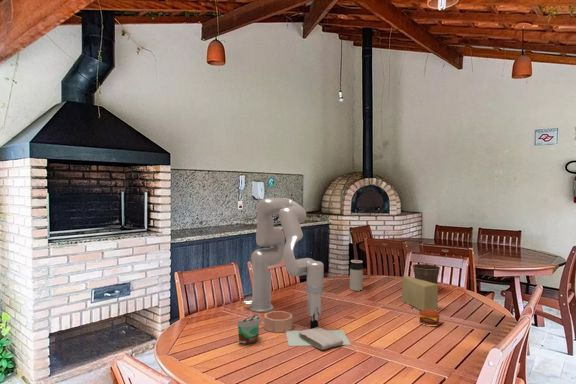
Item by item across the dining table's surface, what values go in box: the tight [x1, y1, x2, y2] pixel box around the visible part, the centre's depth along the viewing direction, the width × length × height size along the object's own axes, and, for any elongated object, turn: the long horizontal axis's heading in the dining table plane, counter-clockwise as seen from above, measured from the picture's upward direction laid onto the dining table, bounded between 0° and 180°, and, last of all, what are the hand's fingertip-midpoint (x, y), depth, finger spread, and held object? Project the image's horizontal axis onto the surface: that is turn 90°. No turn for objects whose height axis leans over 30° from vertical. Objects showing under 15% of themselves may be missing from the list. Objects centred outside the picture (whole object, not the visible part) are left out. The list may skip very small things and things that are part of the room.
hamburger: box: [417, 309, 441, 325], centre depth 193 cm, size 9×10×7 cm
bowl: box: [263, 310, 293, 334], centre depth 184 cm, size 13×13×6 cm
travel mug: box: [349, 259, 364, 292], centre depth 250 cm, size 8×8×18 cm
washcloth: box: [298, 326, 344, 351], centre depth 169 cm, size 12×18×3 cm, turn 34°
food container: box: [236, 313, 262, 346], centre depth 167 cm, size 12×6×10 cm, turn 148°
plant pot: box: [412, 263, 441, 285], centre depth 247 cm, size 16×16×16 cm
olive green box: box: [401, 275, 439, 311], centre depth 219 cm, size 22×10×15 cm, turn 25°
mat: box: [285, 329, 352, 347], centre depth 173 cm, size 26×16×1 cm, turn 95°
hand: (314, 329), depth 181 cm, fingers closed
